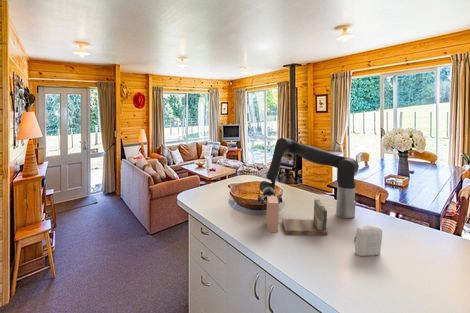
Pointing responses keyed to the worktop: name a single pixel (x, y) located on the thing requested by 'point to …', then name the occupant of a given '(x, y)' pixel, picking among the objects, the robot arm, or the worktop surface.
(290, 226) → the shelf ledge
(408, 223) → the worktop surface
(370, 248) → the photo printer
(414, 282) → the worktop surface
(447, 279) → the worktop surface
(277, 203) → the terracotta book
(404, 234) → the worktop surface
